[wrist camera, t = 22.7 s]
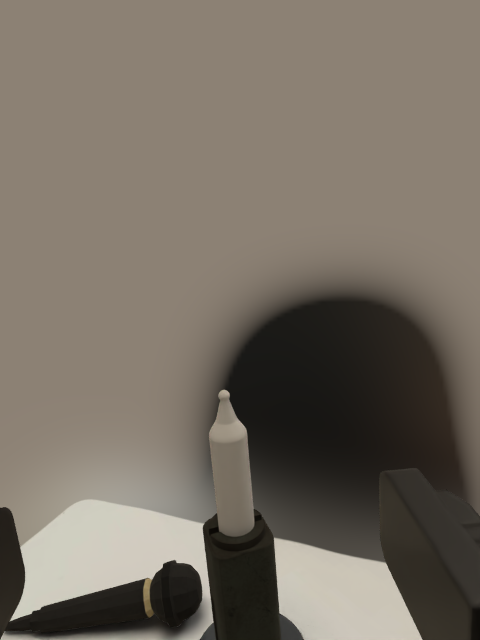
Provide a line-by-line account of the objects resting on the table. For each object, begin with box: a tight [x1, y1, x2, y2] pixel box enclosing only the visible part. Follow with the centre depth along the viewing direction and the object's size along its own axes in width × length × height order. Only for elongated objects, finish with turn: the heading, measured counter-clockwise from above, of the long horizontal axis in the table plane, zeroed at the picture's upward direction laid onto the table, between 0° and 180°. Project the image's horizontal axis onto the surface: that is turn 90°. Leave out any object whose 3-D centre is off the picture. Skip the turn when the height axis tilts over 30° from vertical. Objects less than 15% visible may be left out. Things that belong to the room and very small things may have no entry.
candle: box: [203, 390, 281, 640], centre depth 37 cm, size 5×5×25 cm
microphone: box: [5, 560, 202, 633], centre depth 45 cm, size 6×6×20 cm
